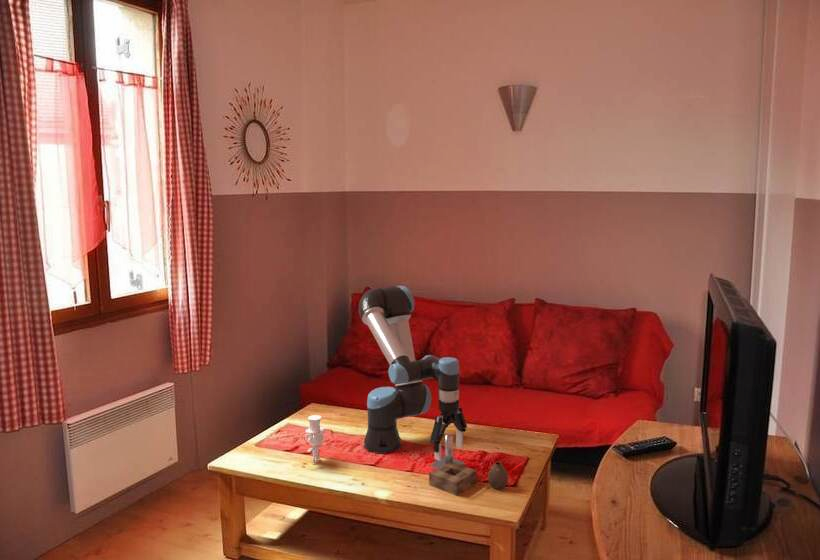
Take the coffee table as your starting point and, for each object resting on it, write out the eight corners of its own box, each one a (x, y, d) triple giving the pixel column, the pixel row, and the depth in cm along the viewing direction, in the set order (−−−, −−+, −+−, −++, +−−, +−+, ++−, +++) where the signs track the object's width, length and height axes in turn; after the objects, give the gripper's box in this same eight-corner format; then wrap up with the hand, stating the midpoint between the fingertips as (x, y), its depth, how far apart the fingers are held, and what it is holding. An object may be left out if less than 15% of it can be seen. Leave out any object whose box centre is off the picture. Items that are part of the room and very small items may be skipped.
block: (429, 486, 230) (429, 472, 229) (449, 474, 239) (449, 461, 238) (456, 496, 222) (456, 483, 222) (476, 483, 232) (476, 470, 231)
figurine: (314, 454, 257) (313, 411, 254) (331, 458, 254) (330, 414, 251) (300, 466, 247) (298, 420, 244) (317, 469, 244) (316, 423, 241)
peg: (443, 465, 245) (443, 435, 243) (448, 462, 248) (448, 432, 246) (449, 467, 243) (449, 437, 241) (454, 464, 246) (454, 434, 244)
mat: (429, 465, 246) (429, 464, 246) (445, 456, 253) (445, 456, 253) (450, 473, 240) (450, 472, 239) (466, 464, 247) (466, 463, 247)
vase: (486, 482, 232) (486, 459, 231) (505, 481, 233) (505, 458, 232) (490, 491, 226) (490, 468, 224) (509, 490, 226) (510, 467, 225)
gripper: (436, 411, 229) (436, 467, 233) (476, 392, 248) (475, 445, 252) (419, 406, 234) (420, 462, 238) (460, 388, 253) (460, 440, 256)
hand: (448, 453), depth 245 cm, fingers open, 13 cm apart
